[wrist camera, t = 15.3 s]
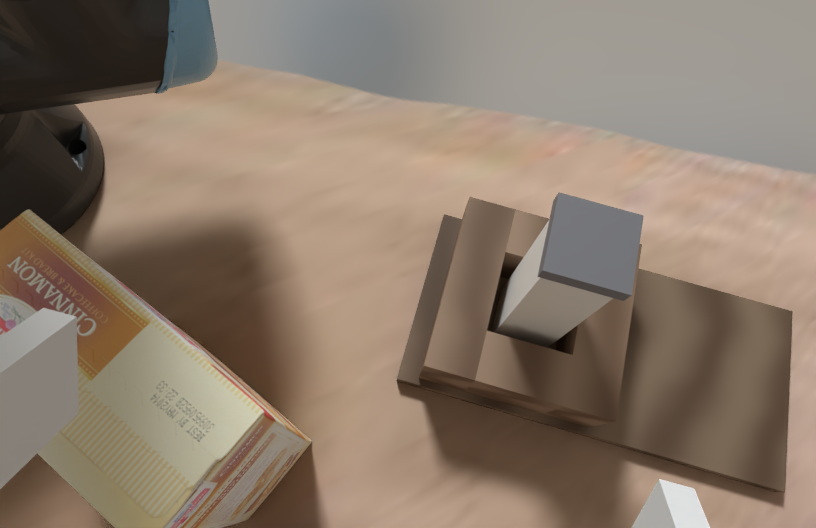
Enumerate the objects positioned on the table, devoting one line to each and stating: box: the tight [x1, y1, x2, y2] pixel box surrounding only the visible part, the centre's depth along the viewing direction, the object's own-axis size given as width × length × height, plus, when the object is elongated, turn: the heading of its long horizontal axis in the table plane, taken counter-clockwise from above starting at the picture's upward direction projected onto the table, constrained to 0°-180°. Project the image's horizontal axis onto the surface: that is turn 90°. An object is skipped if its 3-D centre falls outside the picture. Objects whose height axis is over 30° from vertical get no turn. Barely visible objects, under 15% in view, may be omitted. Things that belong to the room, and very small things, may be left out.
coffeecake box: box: [0, 209, 312, 528], centre depth 33 cm, size 15×7×20 cm, turn 52°
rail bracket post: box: [492, 193, 643, 348], centre depth 37 cm, size 5×5×16 cm
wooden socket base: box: [397, 197, 792, 492], centre depth 43 cm, size 29×14×6 cm, turn 74°
